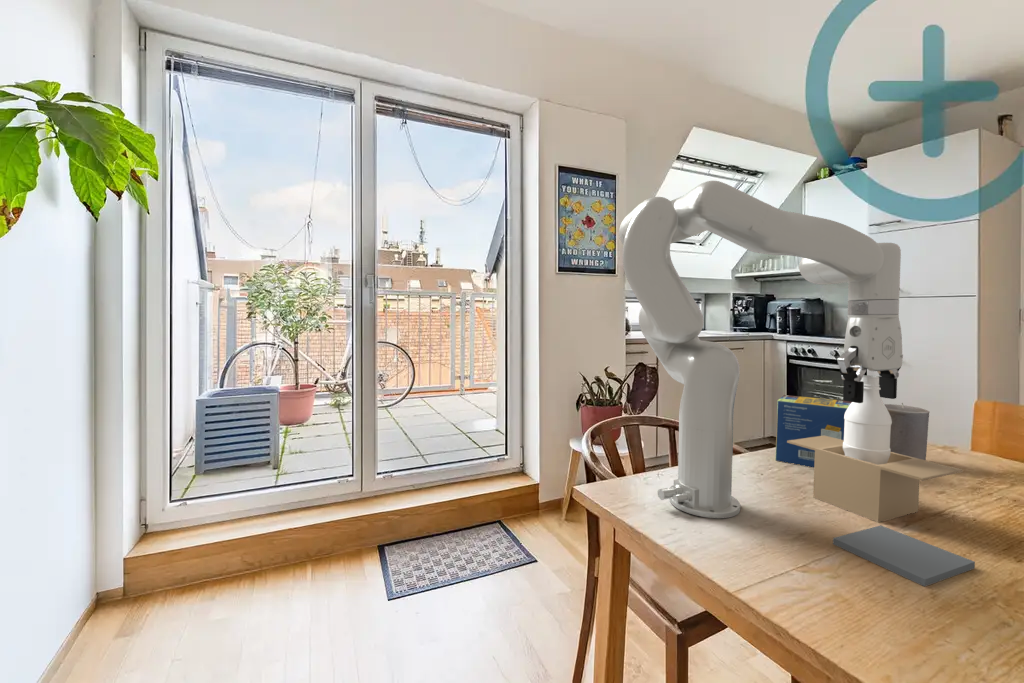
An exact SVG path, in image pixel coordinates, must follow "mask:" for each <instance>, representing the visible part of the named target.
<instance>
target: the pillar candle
mask: <svg viewBox="0 0 1024 683" xmlns="http://www.w3.org/2000/svg"><path fill="white" fill-rule="evenodd" d="M884 405H885V406H886V408H887V410H888V412H889V414H890V416H891V420H892V424H891V430H890V449H891V452H893V453H898V454H902V455H906V456H910V457H914V458H918V459H922V460H926V461H927V450H928V449H927V448H928V435H929V434H928V432H929V422H930V421H929V420H930V411H929V410H927V409H925V408H921V407H916V406H911V405H904V403H903V402H902V403H901V404H895V403H894V404H890V403H889V404H888V403H887V404H886V403H884Z"/></svg>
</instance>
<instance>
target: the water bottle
mask: <svg viewBox="0 0 1024 683" xmlns="http://www.w3.org/2000/svg"><path fill="white" fill-rule="evenodd" d="M861 381H862V382H864V393H863V403H855V402H852V403H851V404H850V405H849V407H848V408H847V410H846V412H845V415H844V419H845V423H844V442H843V450H844V453H845V456H848V457H852V458H855V459H859V460H863V461H866V462H870V463H874V464H877V465H880V464H886V463H887V462H888V459H889V457H890V452H891V449H890V430H891V424H892V420H891V416H890V414H889V412H888V410H887V408H886V406H885V405H884V404H885V403H884V402H883V400H882V397H880V394H879V390H881V388H880V387H879V386H880V385H879V377H878V376H876V375H865V374H864V376H863V378H862V379H861Z"/></svg>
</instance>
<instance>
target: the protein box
mask: <svg viewBox="0 0 1024 683" xmlns="http://www.w3.org/2000/svg"><path fill="white" fill-rule="evenodd" d="M776 401H777V403H776V404H777V408H776V434H775V435H776V437H775V439H776V440H775V456H774V457H775V461H777V462H780V461H782V462H781V463H786V462H788V463H787V464H791V463H794V464H793V465H797V464H800V465H799V466H802V465H805V466H804V467H808V466H809V468H814V463H815V450H811V449H808V448H804V447H801V446H797V445H794V444H790V443H787V441H789V440H796V439H803V438H810V437H817V436H828V437H833V438H837V439H841V440H844V423H845V419H844V415H845V412H846V410H847V408H848V407H849V405H850V404H851V403H852V402H849V401H844V400H840V399H830V398H818V397H808V396H798V395H787V394H783V395H782V396H781V397H780V398H779V399H777V400H776Z"/></svg>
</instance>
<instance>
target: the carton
mask: <svg viewBox="0 0 1024 683" xmlns="http://www.w3.org/2000/svg"><path fill="white" fill-rule="evenodd" d="M843 442H844V440H841V439H837V438H833V437H828V436H817V437H810V438H803V439H796V440H789V441H787V443H790V444H794V445H797V446H801V447H804V448H808V449H811V450H815V463H814V467H813V468H814V469H813V488H812V489H813V490H812V491H813V493H812V494H813V495H812V496H813V497H812V498H813V499H815V500H816V499H817V500H818V501H821V502H825V503H826V504H829V505H832V506H834V507H837V508H840V509H843V510H845V511H847V510H848V512H850V513H852V512H853V514H855V515H858V516H860V515H861V517H863V518H866V519H868V518H869V520H872V521H873V522H876V523H880V522H884V521H888V520H892V519H896V518H900V517H904V516H908V515H911V514H910V513H912V514H916V513H918V512H919V498H920V482H921V481H922V482H923V481H928V480H933V479H936V478H942V477H946V476H949V475H954V474H955V475H956V474H958V473H959V474H960V473H963V472H964V469H962V468H958V467H954V466H950V465H946V464H942V463H938V462H934V461H930V460H927V459H926V460H922V459H918V458H914V457H910V456H906V455H902V454H898V453H893V452H890V457H889V459H888V462H887V463H886V464H880V465H877V464H874V463H870V462H866V461H863V460H859V459H855V458H852V457H848V456H845V453H844V450H843ZM915 512H916V513H915ZM907 514H908V515H907Z"/></svg>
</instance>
